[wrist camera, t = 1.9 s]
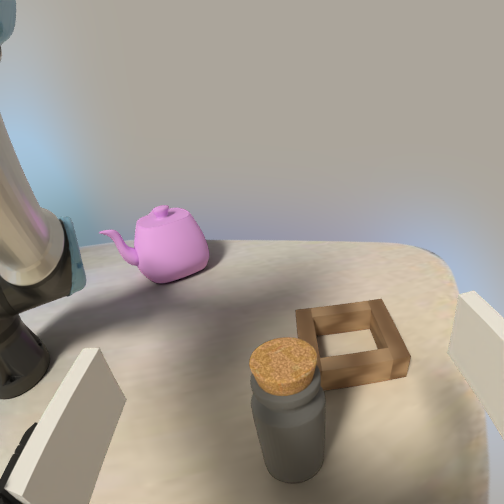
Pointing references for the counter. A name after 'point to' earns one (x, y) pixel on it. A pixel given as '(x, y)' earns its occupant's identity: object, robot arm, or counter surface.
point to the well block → (363, 363)
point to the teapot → (165, 245)
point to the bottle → (288, 408)
